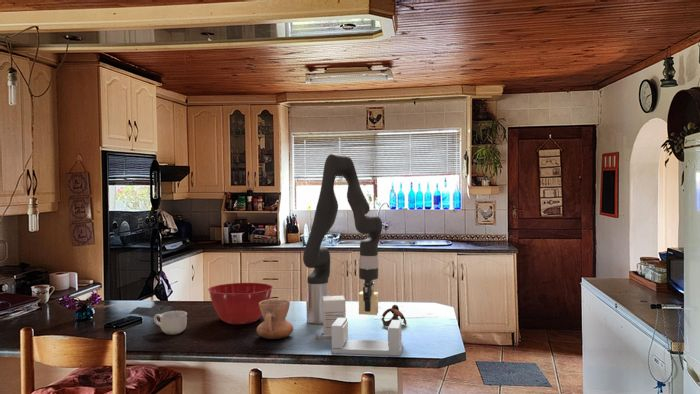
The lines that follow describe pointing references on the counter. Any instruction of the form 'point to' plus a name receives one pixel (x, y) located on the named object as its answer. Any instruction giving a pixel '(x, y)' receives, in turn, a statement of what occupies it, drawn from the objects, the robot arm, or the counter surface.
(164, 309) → the dark slate chunk
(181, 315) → the teacup
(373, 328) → the counter surface
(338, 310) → the supplement box
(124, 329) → the counter surface
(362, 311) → the block
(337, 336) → the jaw
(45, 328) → the counter surface
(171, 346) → the counter surface
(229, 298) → the mixing bowl
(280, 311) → the ceramic jug
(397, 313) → the dark brown curved loop
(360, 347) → the vise
